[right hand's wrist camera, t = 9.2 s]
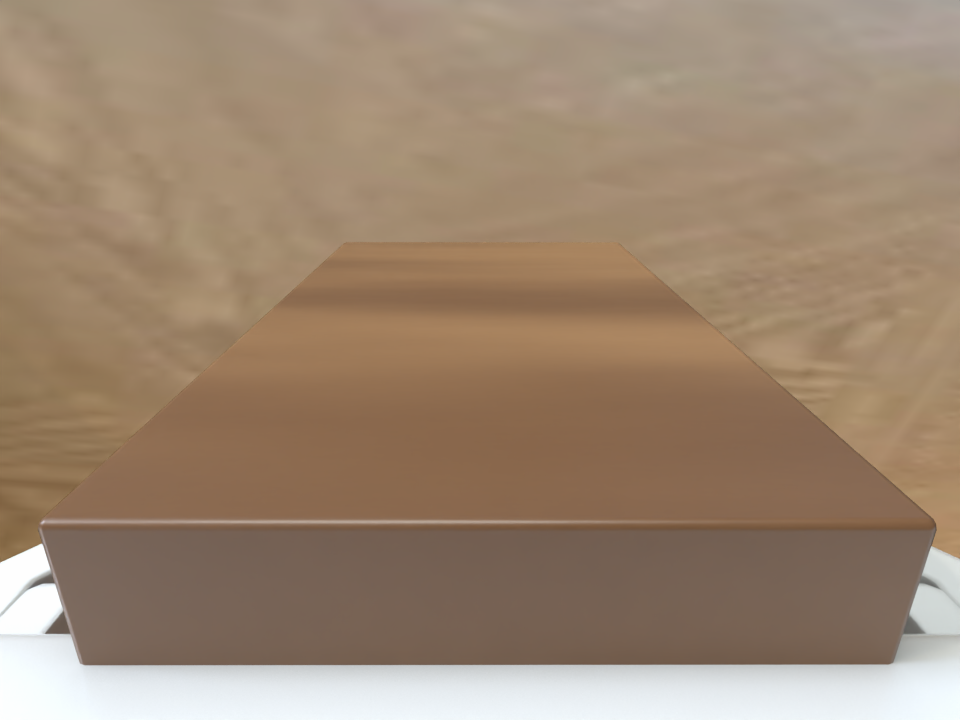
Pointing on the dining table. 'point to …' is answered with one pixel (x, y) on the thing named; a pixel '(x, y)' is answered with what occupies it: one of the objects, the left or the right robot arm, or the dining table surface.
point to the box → (485, 486)
